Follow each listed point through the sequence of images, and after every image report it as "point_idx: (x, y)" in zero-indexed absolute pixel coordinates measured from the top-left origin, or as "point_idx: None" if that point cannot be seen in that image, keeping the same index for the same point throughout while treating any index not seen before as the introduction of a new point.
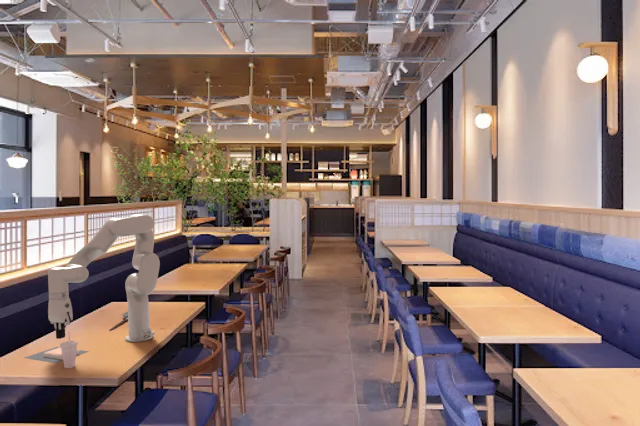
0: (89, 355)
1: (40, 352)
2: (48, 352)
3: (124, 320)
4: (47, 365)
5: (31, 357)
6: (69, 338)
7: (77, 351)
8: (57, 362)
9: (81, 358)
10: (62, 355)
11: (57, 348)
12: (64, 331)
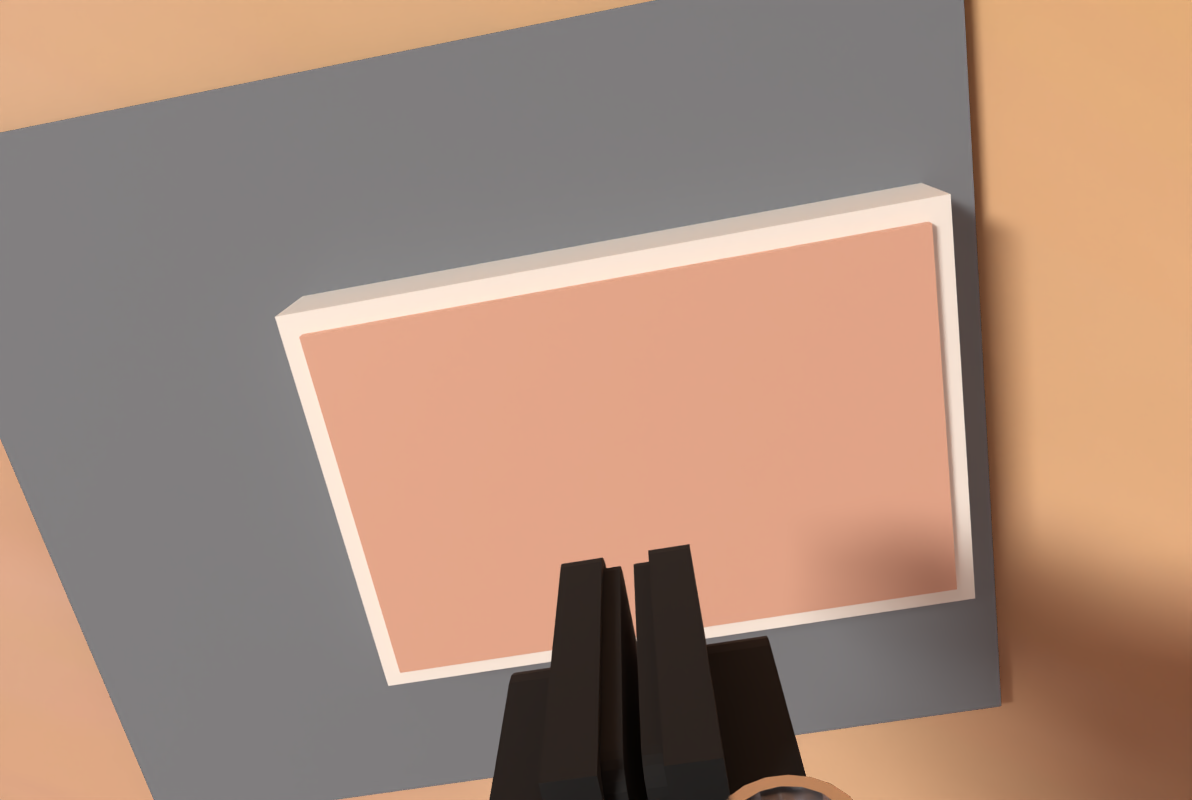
0: (1175, 73)
1: (59, 552)
2: (473, 644)
3: None
4: (904, 784)
5: (259, 760)
6: None
7: (950, 246)
8: (984, 675)
9: (1173, 289)
10: (935, 589)
11: (338, 410)
12: (790, 725)
